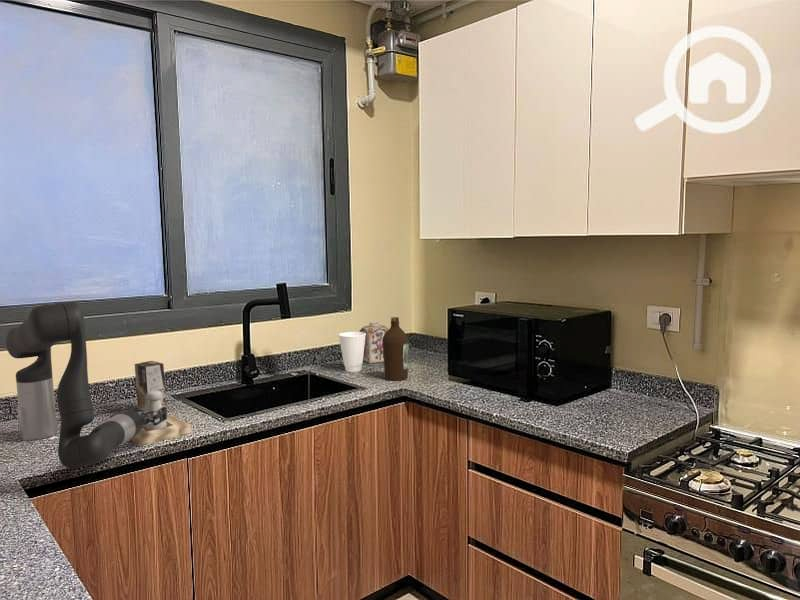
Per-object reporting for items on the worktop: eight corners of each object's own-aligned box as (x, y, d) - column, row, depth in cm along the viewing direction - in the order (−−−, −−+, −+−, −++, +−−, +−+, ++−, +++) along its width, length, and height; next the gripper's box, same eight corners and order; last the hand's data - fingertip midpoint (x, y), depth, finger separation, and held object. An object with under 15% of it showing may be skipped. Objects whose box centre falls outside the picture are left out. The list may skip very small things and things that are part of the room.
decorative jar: (369, 363, 263) (368, 324, 261) (358, 359, 273) (357, 322, 271) (392, 360, 269) (391, 322, 267) (381, 356, 279) (380, 319, 277)
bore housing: (138, 446, 162) (138, 437, 162) (122, 433, 173) (121, 425, 173) (191, 433, 172) (190, 425, 172) (172, 422, 183) (172, 414, 183)
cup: (351, 366, 259) (350, 331, 258) (372, 369, 252) (371, 333, 251) (334, 371, 250) (332, 334, 248) (354, 374, 243) (353, 337, 241)
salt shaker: (161, 429, 177) (158, 387, 175) (170, 432, 173) (168, 390, 172) (142, 434, 172) (139, 391, 171) (152, 438, 169) (149, 394, 167)
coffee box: (167, 409, 198) (164, 363, 196) (148, 414, 193) (145, 366, 191) (155, 404, 204) (152, 360, 202) (137, 409, 199) (133, 363, 197)
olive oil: (380, 381, 230) (379, 319, 228) (386, 374, 241) (384, 315, 238) (406, 381, 228) (405, 319, 226) (411, 375, 239) (410, 315, 236)
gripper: (146, 414, 152) (173, 397, 169) (94, 414, 153) (126, 397, 169) (148, 441, 153) (175, 422, 169) (96, 441, 154) (128, 422, 170)
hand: (150, 410), depth 169 cm, fingers open, 8 cm apart
